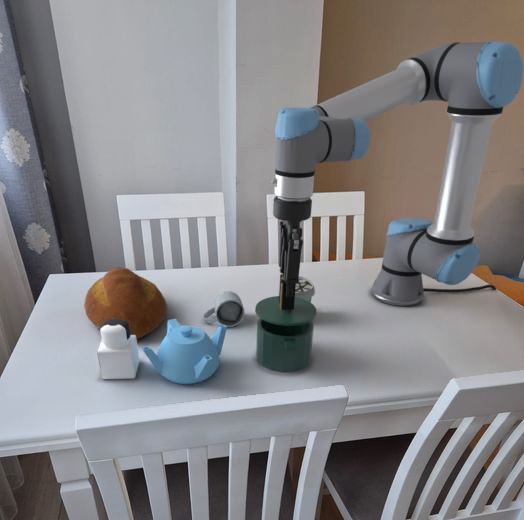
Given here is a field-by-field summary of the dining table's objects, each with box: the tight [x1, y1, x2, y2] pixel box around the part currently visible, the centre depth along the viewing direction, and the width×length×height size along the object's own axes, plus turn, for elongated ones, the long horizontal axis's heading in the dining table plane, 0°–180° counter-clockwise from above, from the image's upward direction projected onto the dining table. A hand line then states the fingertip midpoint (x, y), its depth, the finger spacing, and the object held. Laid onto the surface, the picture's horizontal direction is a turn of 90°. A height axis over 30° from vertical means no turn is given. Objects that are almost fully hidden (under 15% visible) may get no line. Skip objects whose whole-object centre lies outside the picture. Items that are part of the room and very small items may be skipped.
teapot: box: [141, 318, 228, 385], centre depth 104 cm, size 15×15×11 cm
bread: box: [83, 266, 168, 340], centre depth 126 cm, size 21×33×12 cm, turn 19°
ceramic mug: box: [202, 290, 246, 328], centre depth 126 cm, size 11×8×8 cm
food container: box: [295, 275, 316, 303], centre depth 127 cm, size 12×6×10 cm, turn 168°
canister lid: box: [254, 275, 318, 326], centre depth 103 cm, size 14×14×9 cm
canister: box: [255, 317, 315, 373], centre depth 110 cm, size 13×18×10 cm
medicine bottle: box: [97, 319, 140, 380], centre depth 103 cm, size 7×7×12 cm
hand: (286, 305), depth 105 cm, fingers closed on canister lid, 3 cm apart
